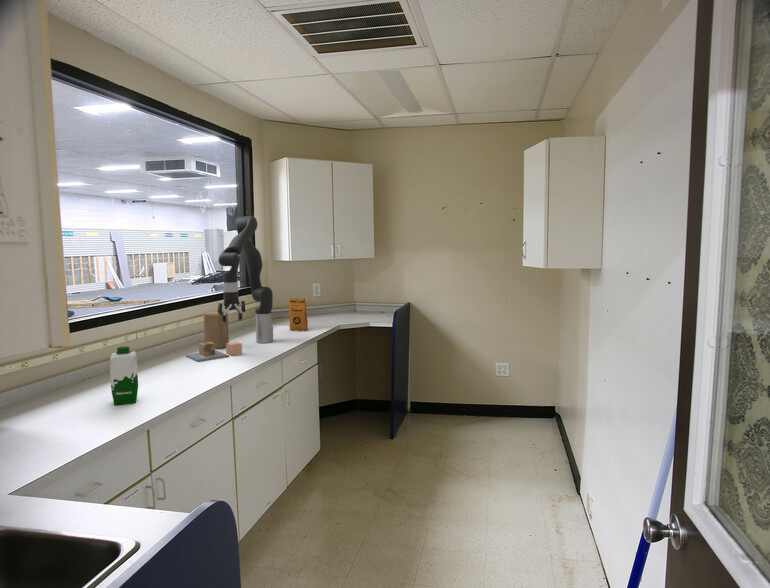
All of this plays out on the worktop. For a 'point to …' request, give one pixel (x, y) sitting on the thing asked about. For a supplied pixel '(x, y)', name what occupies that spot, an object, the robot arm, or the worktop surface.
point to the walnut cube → (207, 349)
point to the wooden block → (216, 329)
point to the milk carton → (124, 376)
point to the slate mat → (204, 358)
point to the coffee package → (298, 314)
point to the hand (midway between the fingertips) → (232, 321)
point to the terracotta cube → (234, 348)
